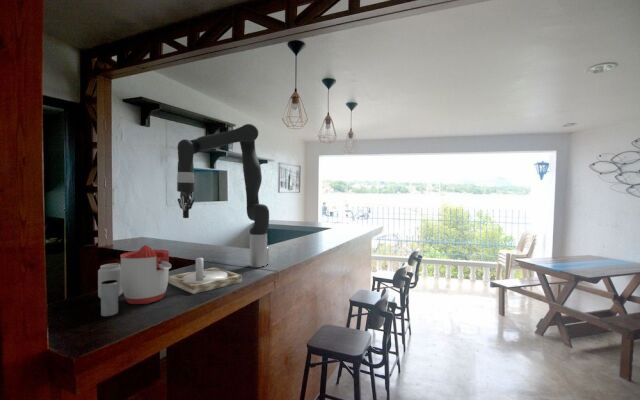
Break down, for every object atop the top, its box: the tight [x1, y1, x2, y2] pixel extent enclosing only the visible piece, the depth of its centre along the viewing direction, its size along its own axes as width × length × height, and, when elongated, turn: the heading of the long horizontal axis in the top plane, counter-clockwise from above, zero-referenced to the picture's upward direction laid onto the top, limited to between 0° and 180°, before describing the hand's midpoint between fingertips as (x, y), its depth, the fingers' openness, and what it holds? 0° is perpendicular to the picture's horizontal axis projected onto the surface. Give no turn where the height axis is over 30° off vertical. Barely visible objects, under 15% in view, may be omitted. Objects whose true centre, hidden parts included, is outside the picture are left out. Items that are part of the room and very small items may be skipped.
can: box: [97, 262, 124, 299], centre depth 114 cm, size 8×8×12 cm
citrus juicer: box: [119, 244, 172, 305], centre depth 111 cm, size 16×17×20 cm
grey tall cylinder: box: [100, 280, 119, 317], centre depth 98 cm, size 4×4×10 cm
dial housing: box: [168, 266, 243, 295], centre depth 133 cm, size 22×22×3 cm
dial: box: [183, 257, 227, 284], centre depth 133 cm, size 18×18×10 cm
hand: (185, 217), depth 147 cm, fingers closed
